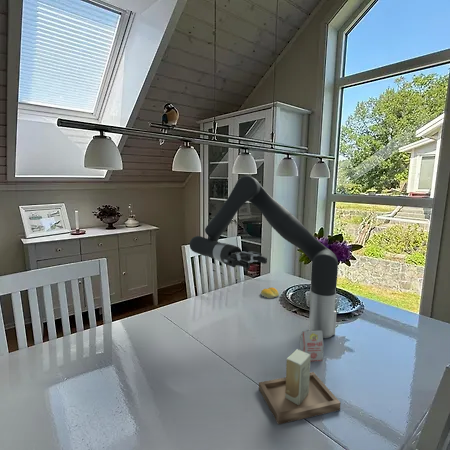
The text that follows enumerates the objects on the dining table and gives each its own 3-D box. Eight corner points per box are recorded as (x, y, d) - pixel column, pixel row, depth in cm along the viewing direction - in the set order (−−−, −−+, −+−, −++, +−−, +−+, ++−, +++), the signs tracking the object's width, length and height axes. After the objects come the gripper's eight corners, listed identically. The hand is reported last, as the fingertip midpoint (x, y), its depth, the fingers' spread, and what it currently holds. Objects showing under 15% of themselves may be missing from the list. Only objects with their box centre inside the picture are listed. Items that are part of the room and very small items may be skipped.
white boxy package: (299, 355, 103) (300, 328, 102) (318, 354, 104) (319, 328, 102) (302, 361, 100) (304, 334, 98) (322, 361, 100) (324, 333, 99)
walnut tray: (313, 378, 92) (313, 371, 91) (340, 410, 79) (340, 402, 79) (258, 389, 87) (258, 382, 86) (278, 424, 74) (278, 416, 74)
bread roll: (258, 294, 157) (258, 287, 157) (272, 291, 161) (272, 284, 160) (266, 300, 150) (266, 292, 149) (281, 297, 153) (281, 290, 153)
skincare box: (295, 386, 87) (297, 347, 85) (309, 393, 84) (311, 353, 82) (284, 398, 82) (285, 358, 80) (298, 406, 79) (300, 364, 77)
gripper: (212, 246, 109) (243, 255, 97) (240, 241, 118) (271, 249, 106) (212, 266, 110) (242, 277, 98) (240, 259, 119) (271, 269, 107)
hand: (257, 263), depth 102 cm, fingers open, 8 cm apart
